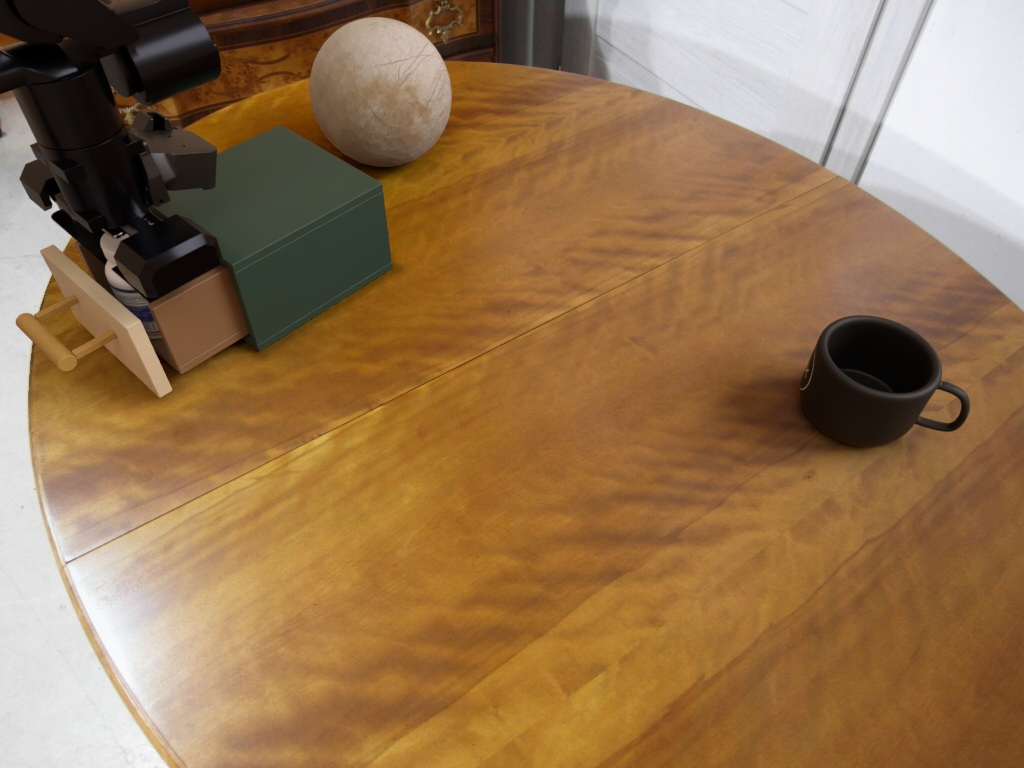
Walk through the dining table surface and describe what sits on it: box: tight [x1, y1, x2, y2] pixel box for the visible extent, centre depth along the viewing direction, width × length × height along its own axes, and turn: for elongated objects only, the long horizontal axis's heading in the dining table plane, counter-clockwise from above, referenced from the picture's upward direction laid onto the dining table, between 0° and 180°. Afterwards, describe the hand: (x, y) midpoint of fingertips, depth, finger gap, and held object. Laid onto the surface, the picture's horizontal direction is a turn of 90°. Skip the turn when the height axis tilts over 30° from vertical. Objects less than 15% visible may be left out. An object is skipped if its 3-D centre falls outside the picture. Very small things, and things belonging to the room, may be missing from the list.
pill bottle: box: [100, 233, 184, 339], centre depth 64 cm, size 5×5×9 cm
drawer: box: [15, 209, 249, 399], centre depth 65 cm, size 19×13×8 cm
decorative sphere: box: [309, 16, 453, 168], centre depth 83 cm, size 15×15×15 cm
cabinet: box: [148, 124, 394, 353], centre depth 71 cm, size 16×15×10 cm
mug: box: [799, 314, 971, 448], centre depth 61 cm, size 12×9×7 cm
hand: (153, 298), depth 65 cm, fingers open, 5 cm apart
